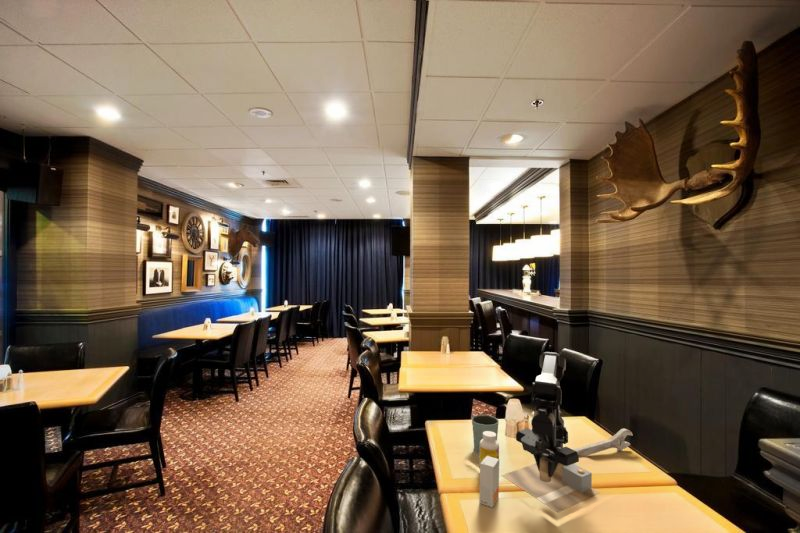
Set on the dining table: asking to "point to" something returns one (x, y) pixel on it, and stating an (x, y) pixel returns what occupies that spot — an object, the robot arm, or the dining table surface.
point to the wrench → (606, 444)
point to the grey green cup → (483, 428)
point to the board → (548, 488)
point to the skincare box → (489, 481)
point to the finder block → (577, 478)
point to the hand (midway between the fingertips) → (545, 474)
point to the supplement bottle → (489, 446)
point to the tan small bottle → (544, 469)
